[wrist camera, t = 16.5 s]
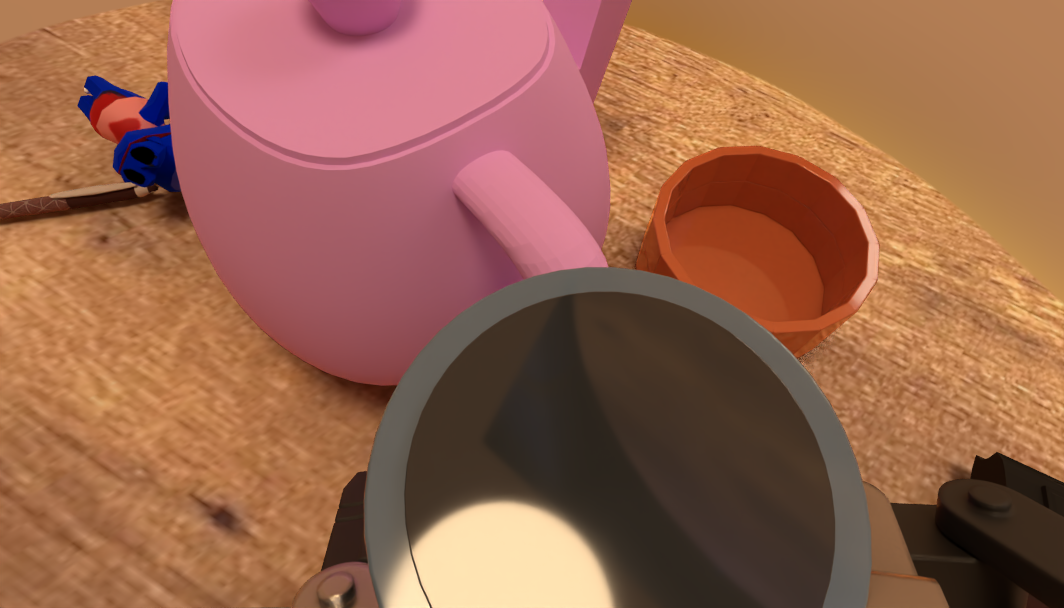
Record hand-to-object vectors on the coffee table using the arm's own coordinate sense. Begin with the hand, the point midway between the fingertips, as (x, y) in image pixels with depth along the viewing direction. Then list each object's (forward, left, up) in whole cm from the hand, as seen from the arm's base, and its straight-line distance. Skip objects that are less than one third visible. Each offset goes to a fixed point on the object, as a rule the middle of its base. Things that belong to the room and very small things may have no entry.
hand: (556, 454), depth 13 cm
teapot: (-7, +11, -12) cm, 18 cm away
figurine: (-27, +12, -8) cm, 31 cm away
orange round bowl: (+6, +13, -12) cm, 19 cm away
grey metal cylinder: (+1, -2, -6) cm, 6 cm away
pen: (-28, +6, -12) cm, 31 cm away
